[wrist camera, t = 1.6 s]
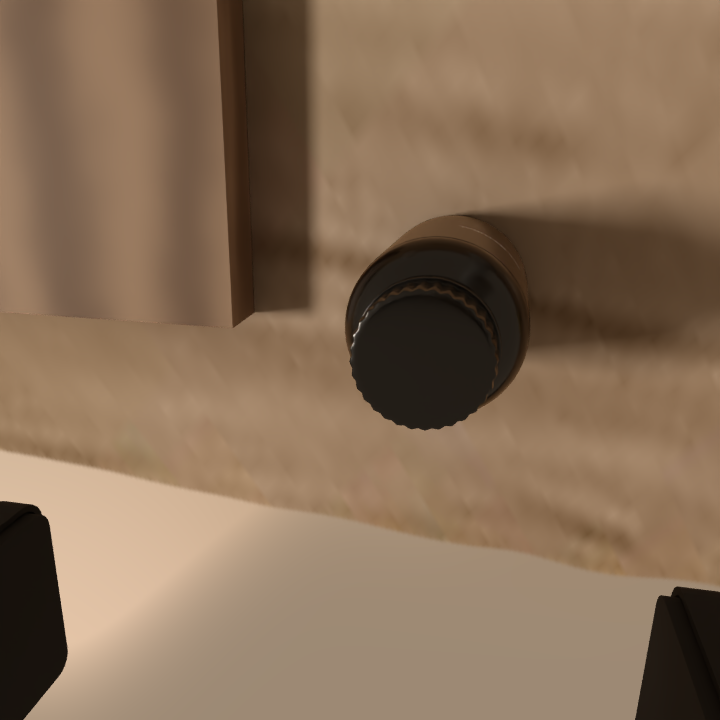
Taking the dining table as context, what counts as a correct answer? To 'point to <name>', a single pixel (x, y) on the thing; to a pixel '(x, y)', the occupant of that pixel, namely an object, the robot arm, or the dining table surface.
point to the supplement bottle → (439, 322)
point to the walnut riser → (125, 161)
